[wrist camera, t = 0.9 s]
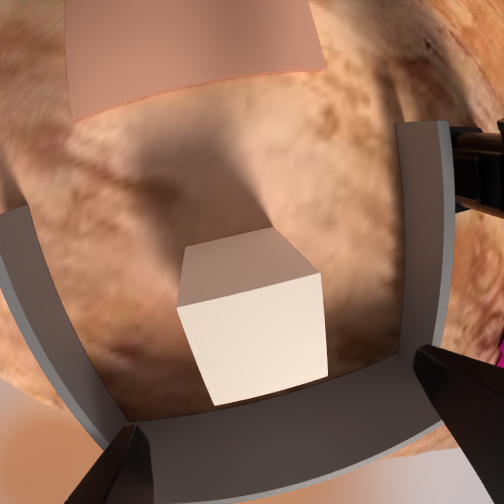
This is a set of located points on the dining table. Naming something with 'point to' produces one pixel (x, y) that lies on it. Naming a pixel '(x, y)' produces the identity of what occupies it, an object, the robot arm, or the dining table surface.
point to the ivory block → (252, 315)
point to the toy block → (503, 360)
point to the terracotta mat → (179, 46)
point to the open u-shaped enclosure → (277, 408)
